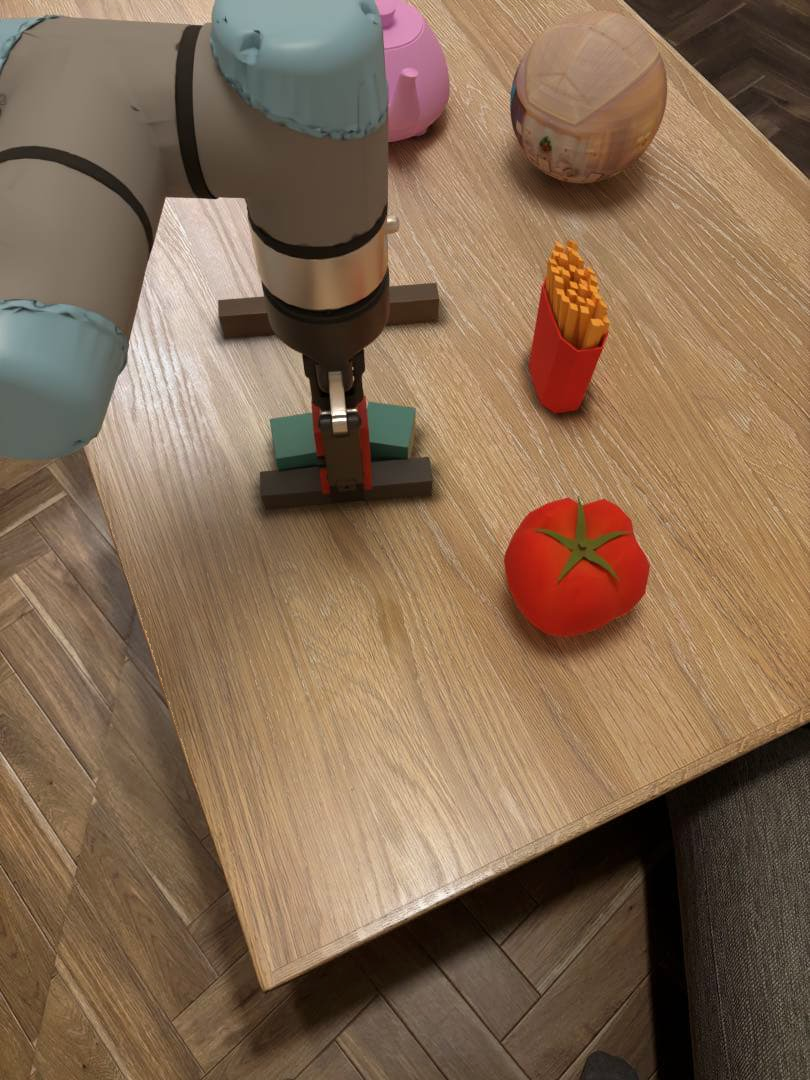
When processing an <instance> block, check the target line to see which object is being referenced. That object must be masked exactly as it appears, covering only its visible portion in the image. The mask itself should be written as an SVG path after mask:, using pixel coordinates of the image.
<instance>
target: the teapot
mask: <svg viewBox="0 0 810 1080" xmlns="http://www.w3.org/2000/svg"><path fill="white" fill-rule="evenodd" d="M374 1H375V3H376V5H377V7H378V10H379V13H380V16H381V21H382V28H383V39H384V55H385V70H386V80H387V82H388V86H389V98H388V143H392V142H398V141H403V140H407V139H409V138H412V137H420V136H423V135H424V134H426V133H427V131H428V127H429V126H431V125H432V124H433V123H435V121H436V120H437V119H438V118H439V117H440V116H441V114H443V112H444V110H445V108H446V106H447V103H448V102H449V98H450V91H451V90H450V89H451V87H450V85H451V84H450V74H449V68H448V63H447V60H446V59H447V58H446V56H445V53H444V51H443V48H442V45H441V44H440V41H439V40H438V38H437V36H436V35H435V33H434V31H433V29H432V27H431V26H430V24H429V23H428V20H426V18H425V17H424V16H423V15H422V14H421V12H420V11H419V10H418V8H416V7H415V6H413V5H411V4H410V3H408V2H406V1H404V0H374Z"/></svg>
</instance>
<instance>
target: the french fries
mask: <svg viewBox="0 0 810 1080" xmlns="http://www.w3.org/2000/svg"><path fill="white" fill-rule="evenodd" d="M578 249H579V244H578V243H577V242H575V241H573V240H571V239H569V238H567V240H566V246H565V248H564V245H563V244H562V243H560V242H558V241H556V240H555V241H554V248H553V249H551V258H549V257H547V263H546V264H547V265H546V276H545V279H544V280H543V282H542V284H541V285H542V286H541V290H540V294H539V295H540V296H539V301H538V307H537V312H536V313H537V314H536V318H535V319H536V320H535V326H534V332H533V337H532V343H531V349H530V356H529V360H528V361H529V362H528V369H529V372H530V376H531V379H532V383H533V386H534V389H535V392H536V395H537V398H538V400H539V403H540V405H541V406H543V407H545V408H546V409H547V410H549V411H551V412H552V413H554V414H561V413H567V412H568V413H569V412H574V411H578V409H579V407H580V405H581V404H582V402H583V400H584V398H585V396H586V393H587V390H588V388H589V385H590V383H591V380H592V377H593V375H594V372H595V370H596V367H597V364H598V363H599V362H598V361H599V360H600V358H601V354H602V351H603V350H604V346H605V345H606V341H607V339H608V336H609V334H610V331H609V328H610V326H611V322H610V320H609V318H608V316H607V315H608V306H607V303H606V302H605V301H603V299H604V298H603V297H602V296H601V295H600V293H599V292H600V287H599V282H598V278H597V277H596V273H595V271H594V270H593V268H592V267H589V266H587V265H586V266H585V260H584V259H583V258H582V256H580V255H579V253H578ZM584 267H585V268H584Z"/></svg>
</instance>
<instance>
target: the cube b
mask: <svg viewBox="0 0 810 1080" xmlns="http://www.w3.org/2000/svg"><path fill="white" fill-rule="evenodd" d="M416 411H417V409H416V407H411V406H405V405H397V404H391V403H383V402H375V401H368V403H367V416H368V425H369V440H370V459H371V462H376V461H387V460H398V459H410V458H412V452H413V448H414V442H415V436H416V416H417V414H416V413H417V412H416Z"/></svg>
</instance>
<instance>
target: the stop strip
mask: <svg viewBox="0 0 810 1080" xmlns="http://www.w3.org/2000/svg"><path fill="white" fill-rule="evenodd" d="M439 295H440V294H439V290H438V283H437V282H428V283H414V284H402V285H391V286H390V312H389V317H388V321H387V323H386V325H385V326H393V325H407V324H420V323H430V322H431V323H432V322H439V312H440V311H439V309H440V296H439ZM217 309H218V310H217V312H218V313H217V315H218V320H219V324H220V327H221V331H222V335H223V339H225V340H226V339H238V338H249V337H250V338H251V337H261V336H274V335H275V336H276V334H275V333H274V331H273V329H272V327H271V325H270V322H269V319H268V314H267V309H266V304H265V299H264V295H262V296H253V297H252V296H251V297H240V298H227V299H225V298H224V299H218V300H217Z"/></svg>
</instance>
